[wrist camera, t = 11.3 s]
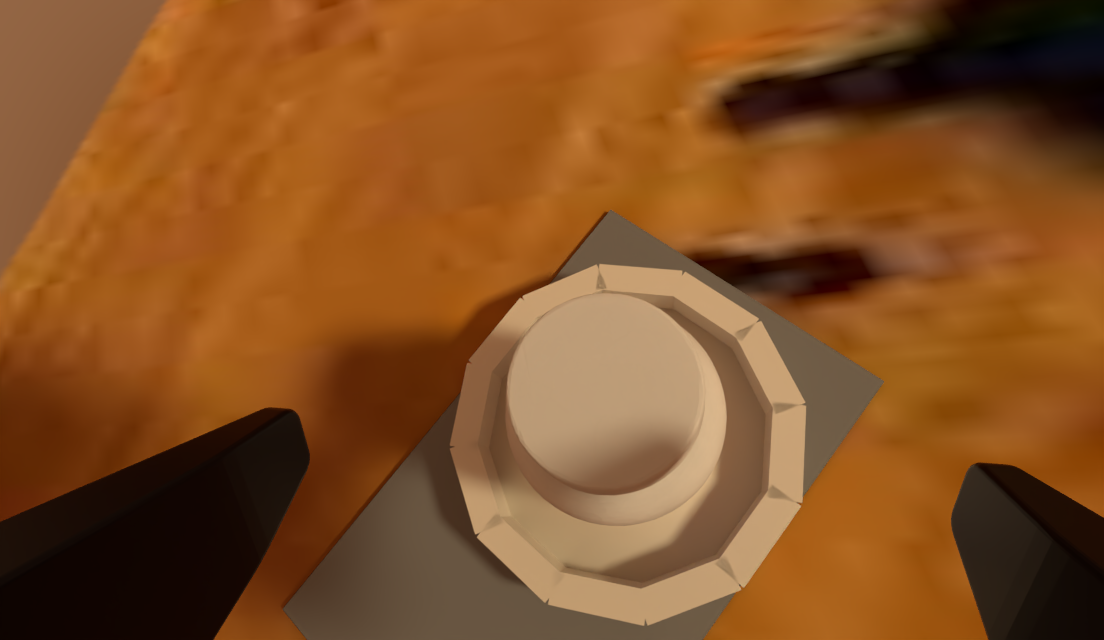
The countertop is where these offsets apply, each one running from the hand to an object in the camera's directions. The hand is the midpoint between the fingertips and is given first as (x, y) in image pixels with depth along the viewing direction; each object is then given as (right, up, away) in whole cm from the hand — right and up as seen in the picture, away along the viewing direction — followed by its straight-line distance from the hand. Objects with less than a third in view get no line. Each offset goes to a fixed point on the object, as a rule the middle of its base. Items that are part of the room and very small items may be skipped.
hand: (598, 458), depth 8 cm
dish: (+2, -2, +13) cm, 13 cm away
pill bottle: (+2, -2, +13) cm, 13 cm away
